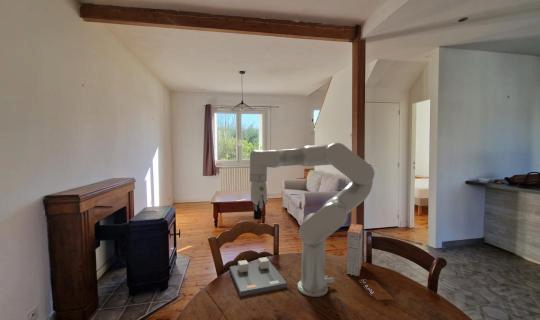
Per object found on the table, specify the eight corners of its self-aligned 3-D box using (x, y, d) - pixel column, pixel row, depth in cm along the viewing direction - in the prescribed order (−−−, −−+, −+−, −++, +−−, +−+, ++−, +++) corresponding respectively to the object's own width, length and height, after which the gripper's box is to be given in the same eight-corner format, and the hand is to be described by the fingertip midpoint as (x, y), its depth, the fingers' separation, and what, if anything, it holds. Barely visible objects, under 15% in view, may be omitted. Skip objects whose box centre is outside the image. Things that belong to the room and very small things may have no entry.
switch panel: (269, 264, 124) (269, 260, 124) (286, 287, 103) (286, 282, 103) (229, 270, 117) (229, 266, 117) (240, 296, 96) (240, 291, 96)
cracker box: (349, 262, 128) (351, 223, 127) (362, 265, 125) (363, 224, 124) (345, 274, 115) (346, 230, 114) (359, 277, 112) (360, 232, 112)
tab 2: (266, 264, 119) (266, 257, 119) (269, 267, 115) (269, 260, 115) (258, 265, 118) (258, 258, 117) (260, 269, 114) (261, 261, 114)
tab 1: (246, 267, 115) (246, 259, 115) (248, 271, 112) (248, 263, 112) (237, 268, 114) (238, 261, 114) (239, 272, 110) (239, 264, 110)
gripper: (272, 179, 103) (271, 223, 103) (261, 176, 117) (260, 214, 117) (255, 180, 100) (254, 224, 101) (245, 176, 114) (245, 215, 115)
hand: (257, 218), depth 109 cm, fingers closed
